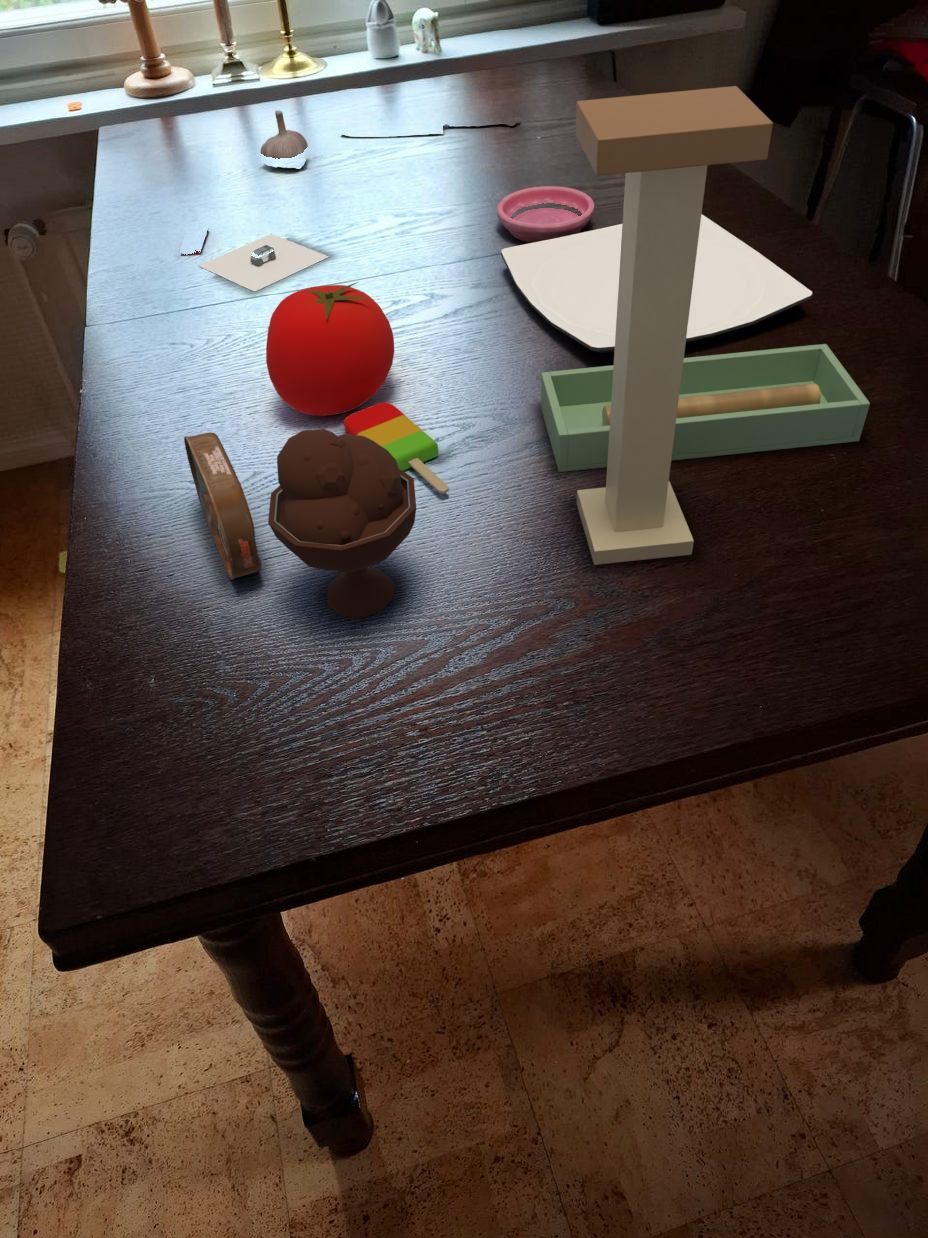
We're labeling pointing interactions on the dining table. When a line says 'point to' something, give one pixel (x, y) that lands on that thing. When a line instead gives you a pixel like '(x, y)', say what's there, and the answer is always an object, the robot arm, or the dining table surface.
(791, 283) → the plate
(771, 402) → the wooden rod
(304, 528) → the ice cream bowl
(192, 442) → the tin
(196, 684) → the dining table surface
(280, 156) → the garlic bulb
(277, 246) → the beige placemat
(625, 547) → the stand
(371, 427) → the popsicle
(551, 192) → the saucer
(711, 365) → the tray
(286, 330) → the tomato
